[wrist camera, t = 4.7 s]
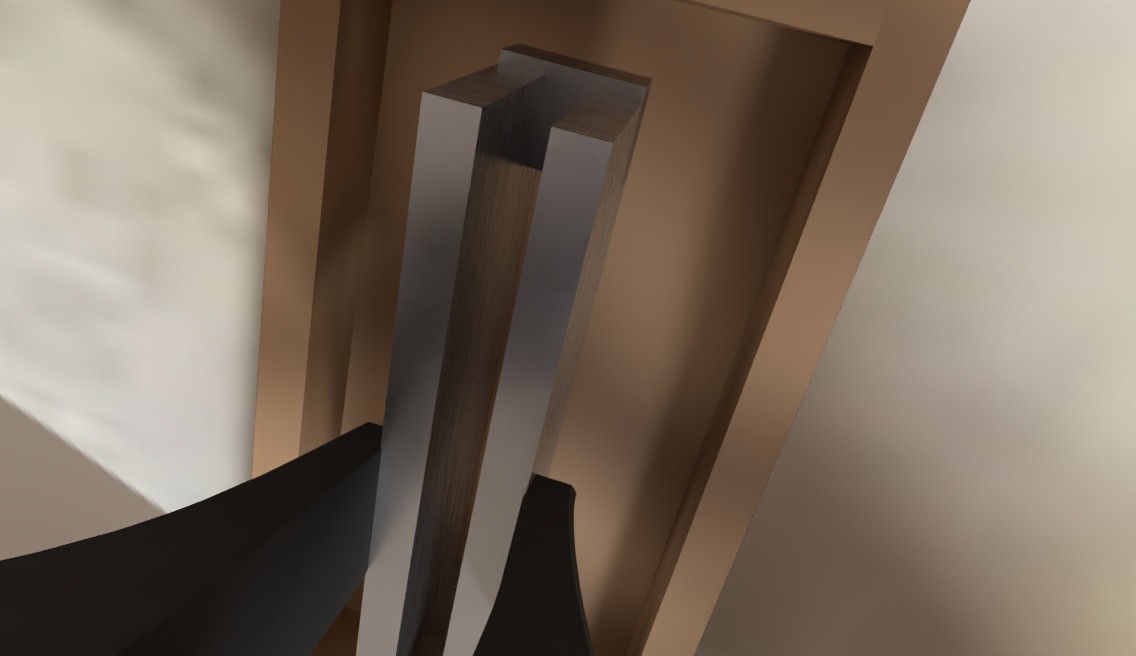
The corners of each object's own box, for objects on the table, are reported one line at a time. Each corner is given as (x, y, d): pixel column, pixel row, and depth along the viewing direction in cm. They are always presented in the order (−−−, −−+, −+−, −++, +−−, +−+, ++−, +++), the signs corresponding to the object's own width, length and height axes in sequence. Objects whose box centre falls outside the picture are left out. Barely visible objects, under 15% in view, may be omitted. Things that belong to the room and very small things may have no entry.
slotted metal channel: (506, 636, 17) (439, 830, 13) (420, 607, 18) (330, 791, 14) (652, 78, 11) (610, 134, 7) (518, 43, 11) (406, 80, 7)
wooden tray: (639, 714, 19) (629, 808, 17) (295, 598, 20) (239, 673, 18) (925, -4, 12) (976, -13, 10) (369, -140, 13) (292, -179, 11)
